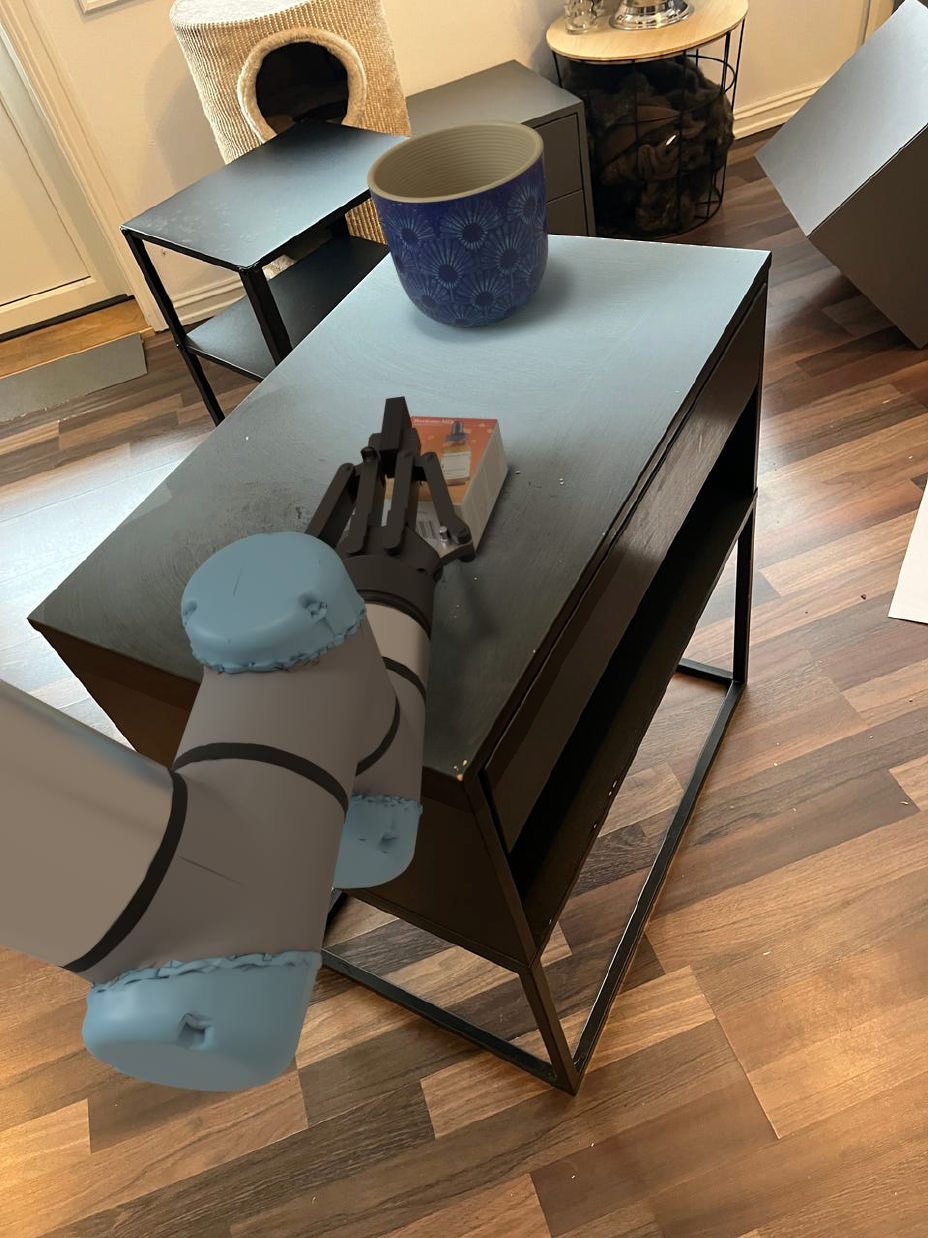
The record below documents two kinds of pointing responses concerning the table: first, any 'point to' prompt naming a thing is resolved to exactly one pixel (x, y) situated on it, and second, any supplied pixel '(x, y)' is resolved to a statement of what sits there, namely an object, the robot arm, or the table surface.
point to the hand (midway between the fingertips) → (399, 411)
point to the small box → (459, 472)
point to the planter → (465, 219)
